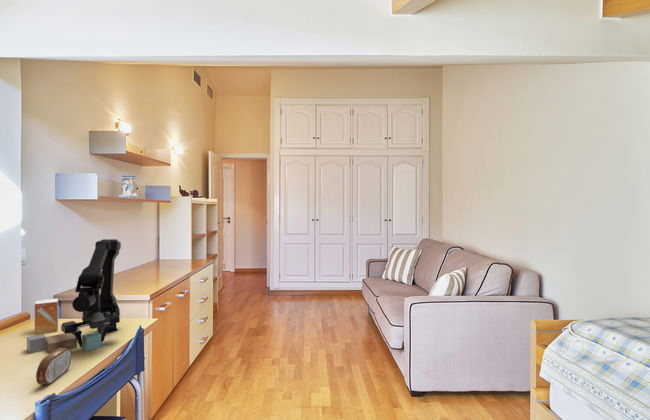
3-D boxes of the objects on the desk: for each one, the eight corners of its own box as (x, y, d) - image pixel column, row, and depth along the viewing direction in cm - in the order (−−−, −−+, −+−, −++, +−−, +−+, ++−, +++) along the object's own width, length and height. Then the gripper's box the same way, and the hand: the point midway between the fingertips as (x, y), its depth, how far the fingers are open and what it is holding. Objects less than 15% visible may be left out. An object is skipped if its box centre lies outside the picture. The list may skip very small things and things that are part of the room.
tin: (63, 368, 133) (63, 343, 133) (73, 368, 133) (73, 343, 133) (34, 390, 118) (34, 362, 118) (46, 389, 118) (45, 362, 118)
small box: (34, 335, 164) (34, 304, 164) (35, 330, 170) (35, 300, 169) (58, 331, 169) (57, 301, 168) (58, 327, 174) (58, 298, 174)
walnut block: (71, 341, 158) (71, 331, 158) (77, 348, 151) (76, 337, 151) (44, 347, 152) (44, 337, 152) (48, 354, 145) (48, 343, 145)
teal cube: (96, 344, 155) (96, 331, 155) (101, 347, 151) (100, 334, 151) (82, 347, 151) (82, 334, 151) (86, 351, 148) (86, 338, 148)
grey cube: (42, 346, 152) (42, 333, 152) (46, 350, 148) (46, 337, 148) (26, 350, 148) (26, 337, 148) (29, 354, 145) (29, 340, 145)
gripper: (69, 314, 138) (69, 357, 139) (125, 303, 152) (125, 343, 153) (60, 307, 146) (60, 349, 146) (114, 298, 160) (114, 336, 160)
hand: (91, 344), depth 151 cm, fingers open, 7 cm apart
